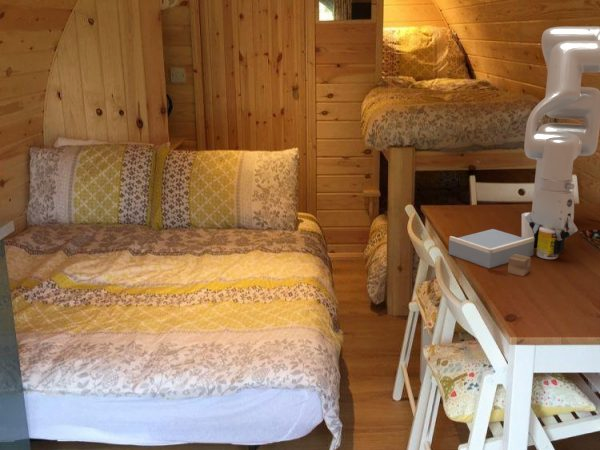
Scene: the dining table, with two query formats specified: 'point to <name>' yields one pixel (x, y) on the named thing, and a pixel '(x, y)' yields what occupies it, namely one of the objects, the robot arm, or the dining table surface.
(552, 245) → the supplement bottle
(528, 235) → the white cup
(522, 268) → the light brown cube
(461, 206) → the dining table surface
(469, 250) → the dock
